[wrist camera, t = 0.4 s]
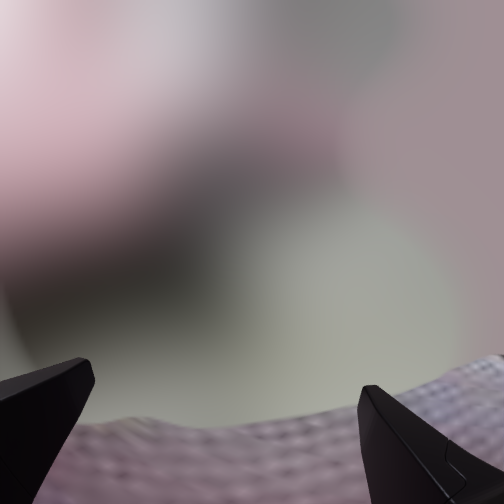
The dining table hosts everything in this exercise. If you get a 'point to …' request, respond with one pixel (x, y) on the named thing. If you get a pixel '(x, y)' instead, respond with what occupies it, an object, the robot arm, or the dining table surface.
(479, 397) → the dining table surface
